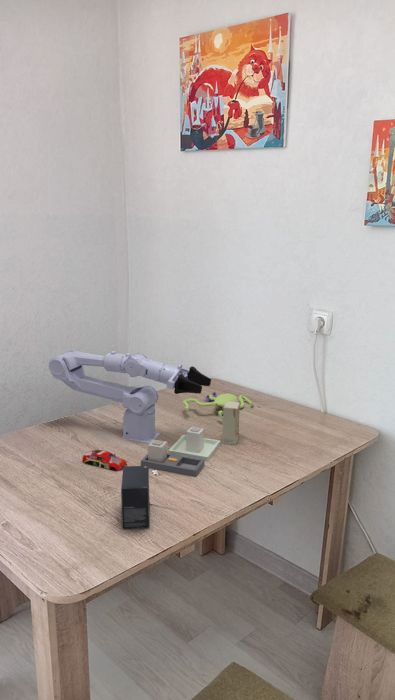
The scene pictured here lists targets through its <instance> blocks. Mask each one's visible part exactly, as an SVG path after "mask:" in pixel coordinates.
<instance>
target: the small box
mask: <svg viewBox="0 0 395 700" xmlns="http://www.w3.org/2000/svg"><path fill="white" fill-rule="evenodd" d="M149 472H150V468H149V466H141V465H134V466H133V465H131V466H130V465H129V466H128V465H127V466H126V467H123V470H122V477H121V487H120V488H121V489H120V504H121V505H120V507H121V511H120V512H121V527H122V529H123V530H128V529H130V530H131V529H133V530H136V529H150V526H151V525H150V524H151V523H150V519H151V518H150V517H151V513H150V512H151V508H150V507H151V506H150V501H151V500H150V473H149Z"/></svg>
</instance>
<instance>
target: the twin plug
mask: <svg viewBox="0 0 395 700" xmlns="http://www.w3.org/2000/svg"><path fill="white" fill-rule="evenodd" d="M167 453H168V441H166V440H165V441H164V440H159V439H154V440H153V441H152V442H151V443H148V445H147V454H148V461H153V462H159V463H164V462H165V460H166V459H167Z"/></svg>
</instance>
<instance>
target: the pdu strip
mask: <svg viewBox="0 0 395 700" xmlns="http://www.w3.org/2000/svg"><path fill="white" fill-rule="evenodd" d="M205 462H206V461H205V460H203V459H198V458H192V457H186V456H181V455H175V454H169V453H168V452H167V459H166V460H165V462H164V463H159V462H153V461H148V453H147V454H146V455H145V456H144V457H143V458H142V459H141V460H140V466H149V470H150V469H151V470H156V471H157V470H158V471H161V472H168V473H171V474H172V473H173V474H177V475H181V476H189V477H193V478H196V477H197V476H198V475H199V474H200V472H201V471H202V470H203V468H204V467H205V464H206V463H205Z"/></svg>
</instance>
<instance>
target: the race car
mask: <svg viewBox="0 0 395 700" xmlns="http://www.w3.org/2000/svg"><path fill="white" fill-rule="evenodd" d="M82 463H83V464H85V465H89V466H93V467H97V468H100V469H105V470H110V471H112V472H120V471H123V467H126V466H128V464H127V460H125V459H124V458H121V457H120V456H118V455H116V453H112V452H110V451H107V450H103V449H101V450H100V449H95V450H94V449H93V450H88V451H86V452H85V453H83V456H82Z"/></svg>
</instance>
